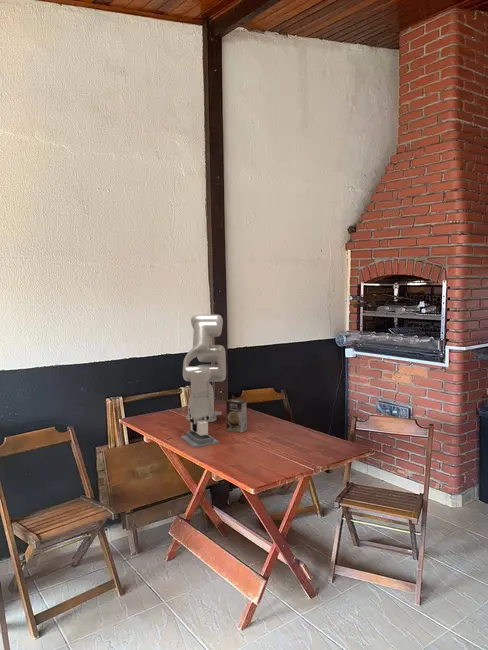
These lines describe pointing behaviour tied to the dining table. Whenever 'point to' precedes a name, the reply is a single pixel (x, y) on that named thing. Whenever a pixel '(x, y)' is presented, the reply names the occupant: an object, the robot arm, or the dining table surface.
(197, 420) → the long beige rectangular prism
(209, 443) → the cradle
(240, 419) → the coffee box
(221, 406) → the dining table surface
